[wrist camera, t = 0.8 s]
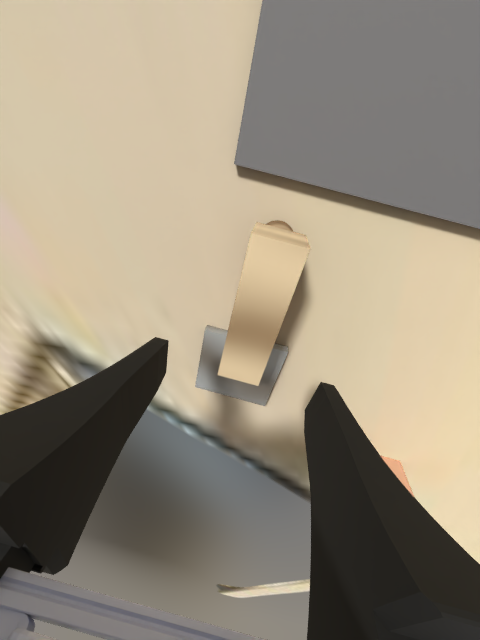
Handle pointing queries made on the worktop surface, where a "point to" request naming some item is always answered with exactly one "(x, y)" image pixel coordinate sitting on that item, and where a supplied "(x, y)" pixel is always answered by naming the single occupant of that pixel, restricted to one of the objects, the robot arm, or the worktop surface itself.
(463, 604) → the robot arm
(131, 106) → the worktop surface
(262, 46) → the mat
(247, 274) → the beige long bar
